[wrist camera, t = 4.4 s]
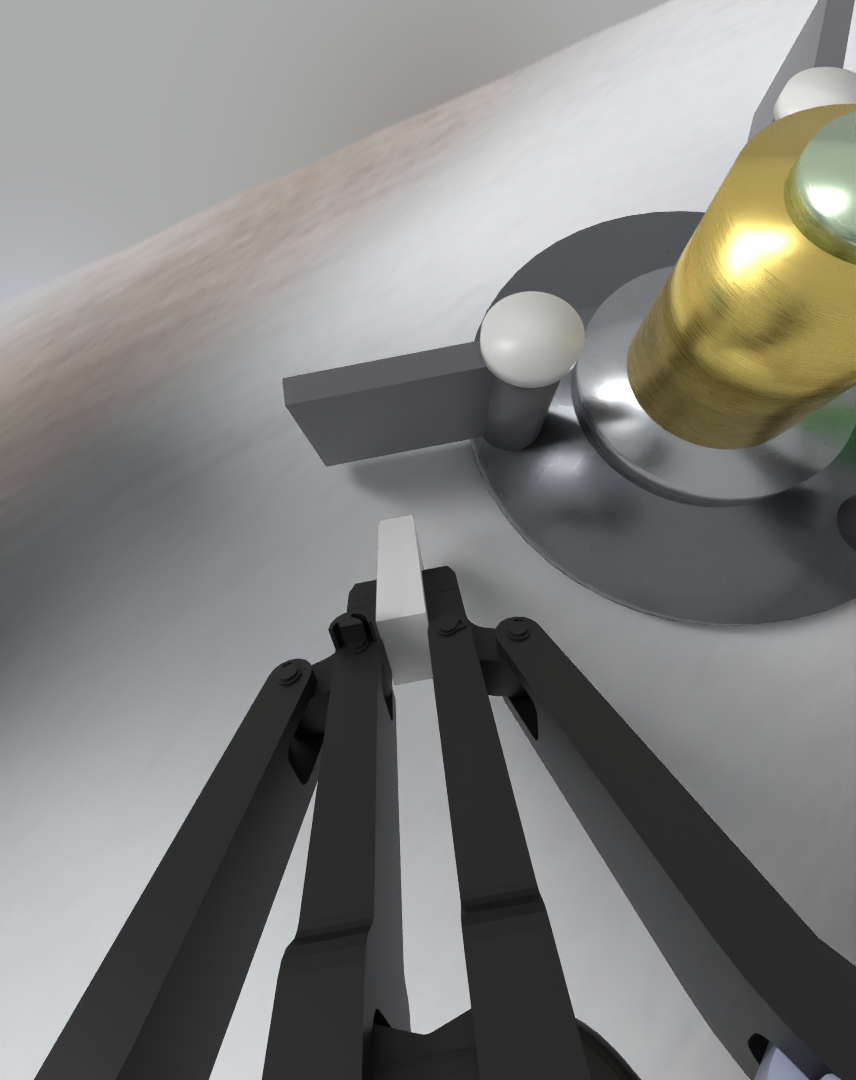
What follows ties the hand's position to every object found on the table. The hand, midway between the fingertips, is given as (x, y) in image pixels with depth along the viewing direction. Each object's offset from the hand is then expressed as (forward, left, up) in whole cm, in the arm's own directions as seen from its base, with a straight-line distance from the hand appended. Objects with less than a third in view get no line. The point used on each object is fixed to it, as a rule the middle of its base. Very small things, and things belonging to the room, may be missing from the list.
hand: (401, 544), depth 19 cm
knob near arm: (-4, +5, -2) cm, 7 cm away
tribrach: (+3, +17, -3) cm, 18 cm away
